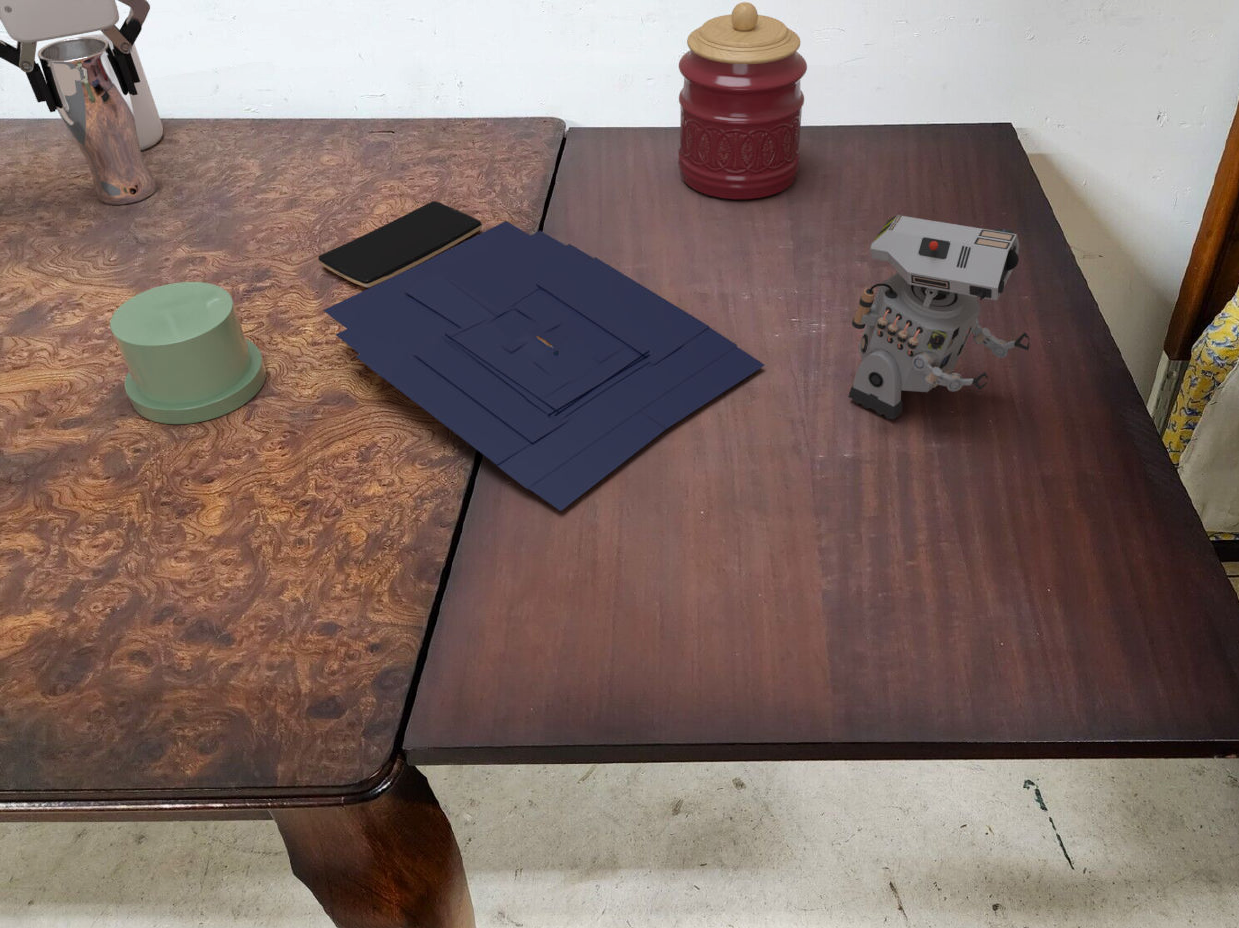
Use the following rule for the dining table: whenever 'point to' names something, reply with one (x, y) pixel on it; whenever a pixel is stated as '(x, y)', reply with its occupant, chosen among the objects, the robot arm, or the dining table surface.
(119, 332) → the flowerpot
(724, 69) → the kitchen canister
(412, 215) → the smartphone
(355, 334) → the papers
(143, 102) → the mug
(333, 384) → the dining table surface
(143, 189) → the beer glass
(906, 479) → the dining table surface
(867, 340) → the figurine
